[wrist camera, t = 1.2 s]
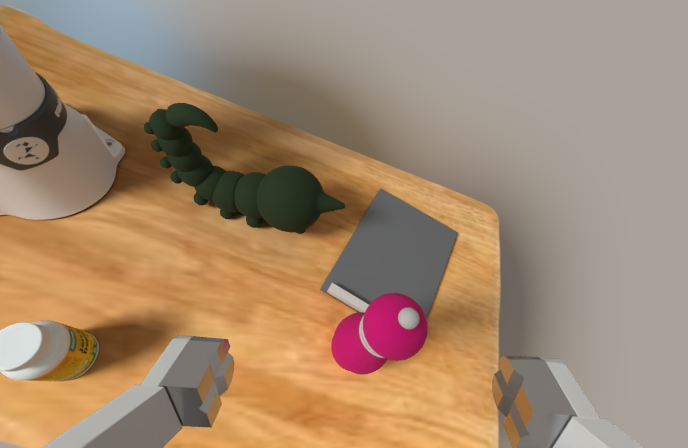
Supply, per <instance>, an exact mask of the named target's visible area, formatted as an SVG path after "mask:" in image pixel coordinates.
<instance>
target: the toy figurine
mask: <svg viewBox="0 0 688 448" xmlns="http://www.w3.org/2000/svg"><path fill="white" fill-rule="evenodd" d="M188 125H194V126H201V127H204V128H207V129H209V130H211V131H213V132H217V131H218V127H217V125H216V123H215V122H214V121H213V120H212V118H211V117H210V116H209V115H208V114H207V113H205V112H204V111H203V110H201V109H199V108H197V107H195V106H193V105H190V104H186V103H176V104H172V105H170V106H169V107H168V109H167V110H164V109H157V111H155V112H154V113H153V114H152V115H151V117H150V119H149V122H147V123H146V124H145V125H144V130H145V132H147V133H149V134H155V135H156V136H157V140H154V141H153V142H152V143H151V146H152V148H153V150H155V151H157V152H159V151H164V152H166V155H167V157H163V158H162V159H161V160H160V164H161V166H162V167H163V168H170V167H171V166H173V167H174V168H175V169H176V170H177V171H174V172H173V173H172V174H171V175H170V178H171V180H172V181H173V182H175V183H181V182H182V181H183V182H185V183H186V184H188V185H190V186H194V187H195V190H196V191H197V192H196V194H195V195H194V202H196V203H197V204H198V205H205V204H206V203H207V202H208V201H209V200H212V201H213V202H214V204H215V205H216V206H217V207H218V208H220V209H221V210H220V214H221V216H222V217H223V218H225V219H230V218H232V217H233V216H234V214H235V213H236V212H240V213H242V214H243V215H245V216H247V217H246V221H247V224H248V225H249V226H251V227H253V228H257V227H260V226H261V225H262V223H263V220H265V221H266V222H267V223H268V224H269V225H271V226H272V227H274V228H276V229H279V230H281V231H286V232H296V233H298V234H302V233H304V232H305V230H306V229H307V228H308V227H309V226H311V225H312V224H313V223H314V222H315V221H316V220H317V219H318V218H319V216H320V214H321V213H324V212H329V211H334V210H339V209H343V208H345V204H344V203H342V202H340V201H338V200H336V199H335V198H333V197H331V196H329V195H327V194H325V193H324V192H323V189H322V186H321V184H320V182H319V181H318V180H317V178H316V177H315V176H314V175H313V174H312V173H310V172H309V171H307V170H306V169H304V168H301V167H297V166H282V167H278V168H276V169H274V170H272V171H271V172H269V173H268V174H267V175H265V174H262V173H256V172H255V173H249V174H247V175H243V174H241V173H239V172H235V171H228V172H226V171H225V170H224V169H222V168H220V167H217V166H213V165H212V163H211V162H210V161H209V159H208V158H206V157H205V156H204V155H202V153H201V150H200V148H199V147H198V146H197V145H196V144H195V143H193V141H192V136H191V134H190V133H189V131H188V130H187V129H186V128H184V127H185V126H188Z"/></svg>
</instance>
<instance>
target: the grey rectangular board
mask: <svg viewBox="0 0 688 448" xmlns="http://www.w3.org/2000/svg"><path fill="white" fill-rule="evenodd" d="M456 236H457V232H456V231H454V230H452V229H450V228H449V227H447V226H445V225H443V224H442V223H440V222H438V221H436V220H435V219H433V218H431V217H429V216H428V215H426V214H424V213H422V212H421V211H419V210H417V209H415V208H414V207H412V206H410V205H408V204H407V203H405V202H403V201H402V200H400V199H398V198H396V197H395V196H393V195H391V194H389V193H388V192H386V191H384V190H382V189H380V190H379V192H378V194H377V195H376V197H375V199H374V200H373V202H372V204H371V205H370V207H369V209H368V210H367V212H366V214H365V215H364V217H363V219H362V220H361V222H360V224H359V225H358V227H357V229H356V230H355V232H354V234H353V235H352V237H351V239H350V240H349V242H348V244H347V245H346V247H345V249H344V250H343V252H342V254H341V255H340V257H339V259H338V261H337V262H336V264H335V266H334V267H333V269H332V271H331V272H330V274H329V276H328V277H327V279H326V281H325V282H324V284H323V286H322V287H321V289H320V290H322V291H323V292H325V293H327V294H328V295H330V296H332V297H333V298H335V299H337V300H338V301H340V302H342V303H343V304H345V305H347V304H346V303H344V302H343V301H341V300H339V299H338V298H336V297H334V296H333V295H331V294H329V293H328V292H327V291H328V289H329V287H330V285H331V284H332V283H334V284H335V285H337V286H339V287H340V288H342V289H344V290H345V291H347V292H349V293H350V294H352V295H354V296H355V297H357V298H359V299H360V300H362V301H364V302H365V303H367V304H369V305H370V303H371V302H372V301H373V300H374V299H376V298H377V297H379V296H381V295H384V294H387V293H400V294H403V295H406V296H408V297H410V298H412V299H413V300H414V301H415V302H416V303H417V304H418V305H419V306H420V307H421V308H422V310H423V312H424V314H425V317H426V319H427V316H428V314H429V311H430V308H431V305H432V303H433V300H434V297H435V294H436V291H437V289H438V286H439V283H440V280H441V277H442V275H443V272H444V269H445V266H446V264H447V261H448V258H449V255H450V252H451V250H452V247H453V244H454V241H455V238H456ZM347 306H348V307H350V308H352V307H351V306H349V305H347ZM352 309H353V310H355V311H357V310H356V309H354V308H352ZM357 312H358V313H359V311H357Z"/></svg>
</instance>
